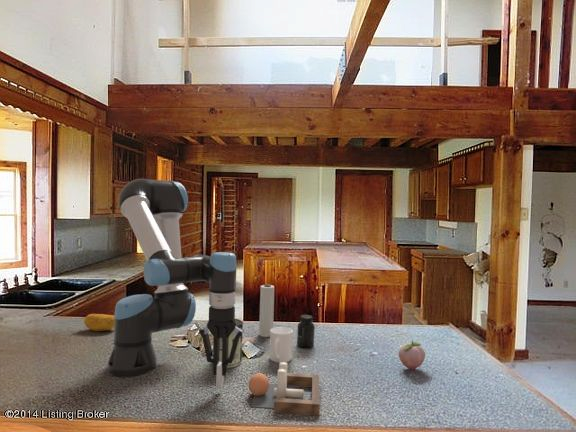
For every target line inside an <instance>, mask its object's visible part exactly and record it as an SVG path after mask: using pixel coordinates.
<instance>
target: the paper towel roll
mask: <svg viewBox="0 0 576 432" xmlns="http://www.w3.org/2000/svg"><path fill="white" fill-rule="evenodd" d="M259 289H260V292H259V293H260V298H259V324H258V325H259V327H258V328H259V330H258V334H259V335H258V336H260V337H263V338H270V330H271V329H272V328H274V318H275V317H274V315H275V313H274V312H275V307H274V306H275V286H274V285H272V284H263V285H260V288H259Z"/></svg>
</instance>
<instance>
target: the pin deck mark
mask: <svg viewBox="0 0 576 432" xmlns="http://www.w3.org/2000/svg"><path fill="white" fill-rule="evenodd" d="M274 388H277V383H269V389H268V391H267V392H266V393H265V394H264V395H261V396H256V395H254V396H253V399H252V402H251V406H250V407H251V408H259V409H273V410H274V400H275V398H277V397H274ZM287 389H298V386H297V385H287ZM285 398H286V397H285ZM287 399H297V398H287Z"/></svg>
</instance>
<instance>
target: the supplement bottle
mask: <svg viewBox="0 0 576 432" xmlns="http://www.w3.org/2000/svg"><path fill="white" fill-rule="evenodd" d="M313 321H314V320H313V315H310V314H301V315H300V320H299V322H298V324H297V332H296V333H297V334H296V335H297V336H296V346H297V347H298V348H299V349H303V350H308V349H313V348H314V346H315V331H316V330H315V328H316V326H315V324H314V323H313Z"/></svg>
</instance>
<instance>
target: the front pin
mask: <svg viewBox="0 0 576 432" xmlns="http://www.w3.org/2000/svg"><path fill="white" fill-rule="evenodd" d="M304 393H305V392H304V389H301V388H300V389H298V388H297V389H286V393H285V397H286V398H296V399H302V400H304ZM274 397H277V388H274Z"/></svg>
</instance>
